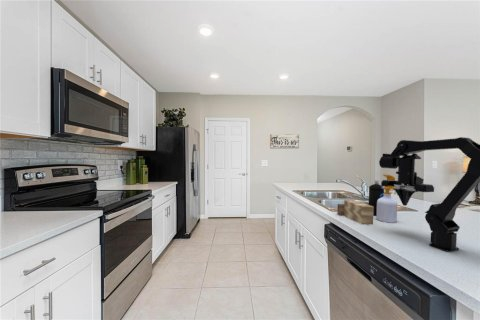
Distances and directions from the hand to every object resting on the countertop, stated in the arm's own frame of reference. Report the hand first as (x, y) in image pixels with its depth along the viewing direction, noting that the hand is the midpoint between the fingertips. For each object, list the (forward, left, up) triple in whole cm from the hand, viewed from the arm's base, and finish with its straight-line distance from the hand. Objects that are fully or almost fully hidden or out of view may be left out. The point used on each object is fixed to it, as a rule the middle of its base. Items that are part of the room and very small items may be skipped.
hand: (404, 205), depth 99 cm
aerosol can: (+30, -21, -13) cm, 39 cm away
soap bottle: (+19, -15, -13) cm, 28 cm away
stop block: (+34, -3, -13) cm, 37 cm away
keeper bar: (+25, -1, -13) cm, 28 cm away
